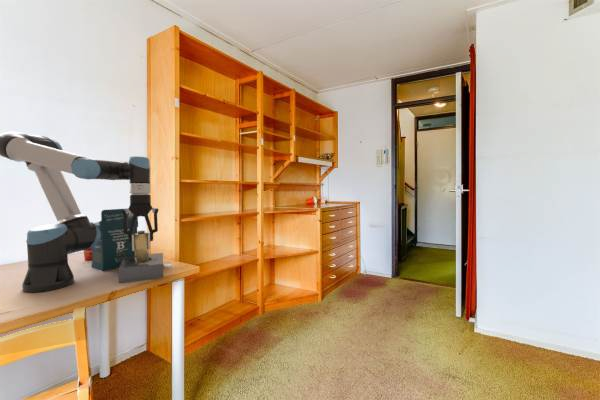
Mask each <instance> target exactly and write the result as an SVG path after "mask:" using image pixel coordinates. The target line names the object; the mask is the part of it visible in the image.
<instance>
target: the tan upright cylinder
mask: <svg viewBox="0 0 600 400" xmlns="http://www.w3.org/2000/svg"><path fill="white" fill-rule="evenodd" d="M148 233H149V232H146V231H145V230H137V233H135V234H134V253H135V263H146V262H148V261H149V254H150V252H149V250H150V249H149V250H148Z"/></svg>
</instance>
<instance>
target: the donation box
mask: <svg viewBox="0 0 600 400" xmlns="http://www.w3.org/2000/svg"><path fill="white" fill-rule="evenodd" d="M123 209H124V208H116V209H115V208H113V209H112V208H111V209H103V210H101V212H100V216H101V218H100V219H101V220H100V221H96V222H94V223H95V224H97V225H98V226H99V228H100V230H101V238H100V239H99V242H98V244H97V245H96V246H94V247H92V260H91V261H92V262H91V268H92V269H95V270H97V269H98V271H100V270H101V271H100V272H108V271H112V270H117V269H119V267H120V265H121V263H122V261H123V259H124V257H125V256H133V255H135V253H134V251H132V242H131V243H129V235H128V234H124V233H123V213H122V210H123ZM127 216H128V231H129V230H130V227H131V223H132V220H133V216H134V215H133V214H132V212H131V211H130V210H129V213H128V214H127ZM138 228H139V217H137V219H136V222H135V226H134V229H133V233H132V234H135V233H138Z"/></svg>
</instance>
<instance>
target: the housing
mask: <svg viewBox="0 0 600 400" xmlns="http://www.w3.org/2000/svg"><path fill="white" fill-rule="evenodd" d="M157 279H164V254H163V252H159V253H149V261H148V262H146V263H135V255H133V256H125V257H124V259H123V261H122V263H121V265H120V267H119V268H118V284H123V283H124V284H125V283H133V282H140V281H142V282H143V281H148V280H157Z"/></svg>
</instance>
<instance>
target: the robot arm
mask: <svg viewBox="0 0 600 400" xmlns="http://www.w3.org/2000/svg"><path fill="white" fill-rule="evenodd" d="M0 157H1V158H3V159H6V160H9V161H14V162H16V163H17V162H19V163H20V162H24V163H25V166H26V167H27V169H28V170H29V171H31V172H34V174H35V176H36V178H37V180H38V183H39V184H40V186H41V189H42V190H43V193H44V195H45V197H46V199H47V201H48V204H49V206H50V207H51V210H52V213H53V214H54V216H55V219H56V220H57V223H49V224H43V225H38V226H36V227H35V226H34V227H33V228H30V229H29V230H28V231H27V233H26V250H27V268H28V269H27V271H26V274H25V276H24V280H23V282H22V291H23V292H26V293H41V292H49V291H53V290H54V291H55V290H58V289H61V288H62V289H63V288H65V287H68V286H70V285H72V284H73V283H75V276H74V274H73V271H72V269H71V267H70V265H69V262H68V261H69V258H68V256H69V255H70V254H74V253H79V252H81V251H82V252H84V250H87V249H90V248H92V247H94V246H96V245H97V244H98V242H99V239H100V238H101V230H100V228H99V226H98V225H97V224H95V223H96V222H92V221H90V219H89V218H88V216H87V215H85V214H82V212H81V210H80V208H79V206H78V204H77V201H76V199H75V197H74V195H73V193H72V190H71V189H70V187H69V184H68V181H66V177H65V176H64V174H63V172H64V173H68V174H72V175H74V176H75V177H76V178H78V179H83V180H108V181H122V180H123V181H124V180H127V181H129V193H130V195H129V207H128V208H122V209H123V210H122V213H123V233H124V234H128V235H129V243H131V242H132V251H134V234H132V233H133V229H134V226H135V222H136V219H137V217H138V218H139V217H144V219H145V223H146V226H147V228H148V231H149V232H147V233H148V250H151V242H153V241H154V234H155V233H157V232H158V230H159V228H158V213H159V208H157V207H152V204H151V203H152V202H151V198H152V197H151V195H150V194H151V165H150V159H149V157H146V156H130V157H129V159H128V161H115V160H114V161H112V160H104V159H94V158H90V157H87V156H83V155H80V154H77V153H72V152H68V151H65V150H63V147H62V145H61V144H60V143H59V142H58V141H57V140H56V139H53V138H51V137H48V136H45V135H35V134H28V133H25V132H24V133H23V132H19V131H7V132H3V133H1V134H0ZM129 210H130V211H131V212H132V214H133V215H134V216H133V220H132V223H131V227H130V230H129V231H128V216H127V214H128V213H129ZM150 212H152V213H153V226H154V228H153V226H152V224H151V221H150V217H149V214H150Z"/></svg>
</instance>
